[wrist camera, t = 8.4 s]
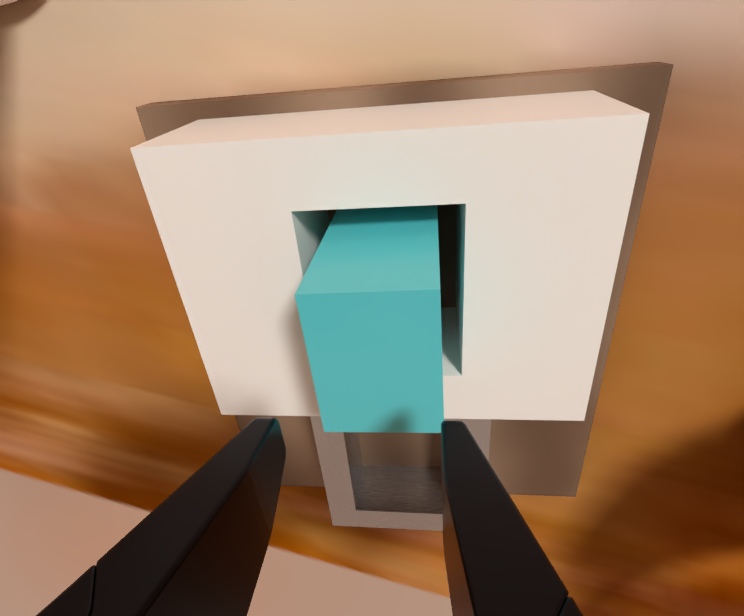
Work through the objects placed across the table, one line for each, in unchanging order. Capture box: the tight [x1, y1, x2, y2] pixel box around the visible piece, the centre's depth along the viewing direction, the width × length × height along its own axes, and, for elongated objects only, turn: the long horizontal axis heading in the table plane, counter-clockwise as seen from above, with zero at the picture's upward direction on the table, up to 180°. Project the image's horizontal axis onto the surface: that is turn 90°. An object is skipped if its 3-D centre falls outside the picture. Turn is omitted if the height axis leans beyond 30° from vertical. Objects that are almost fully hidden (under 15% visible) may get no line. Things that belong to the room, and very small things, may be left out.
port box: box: [130, 90, 650, 421], centre depth 15 cm, size 12×9×4 cm
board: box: [136, 62, 673, 497], centre depth 19 cm, size 16×18×1 cm
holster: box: [310, 416, 491, 531], centre depth 20 cm, size 7×8×2 cm
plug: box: [295, 205, 444, 433], centre depth 13 cm, size 3×4×7 cm
